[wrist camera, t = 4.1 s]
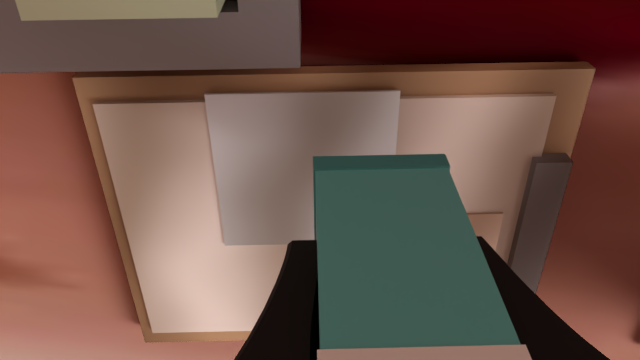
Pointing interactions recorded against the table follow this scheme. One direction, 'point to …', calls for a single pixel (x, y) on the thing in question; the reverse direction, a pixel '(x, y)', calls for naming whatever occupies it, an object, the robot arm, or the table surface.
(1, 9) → the button housing
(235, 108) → the clipboard
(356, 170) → the teal rimmed box
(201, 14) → the button
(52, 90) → the table surface
